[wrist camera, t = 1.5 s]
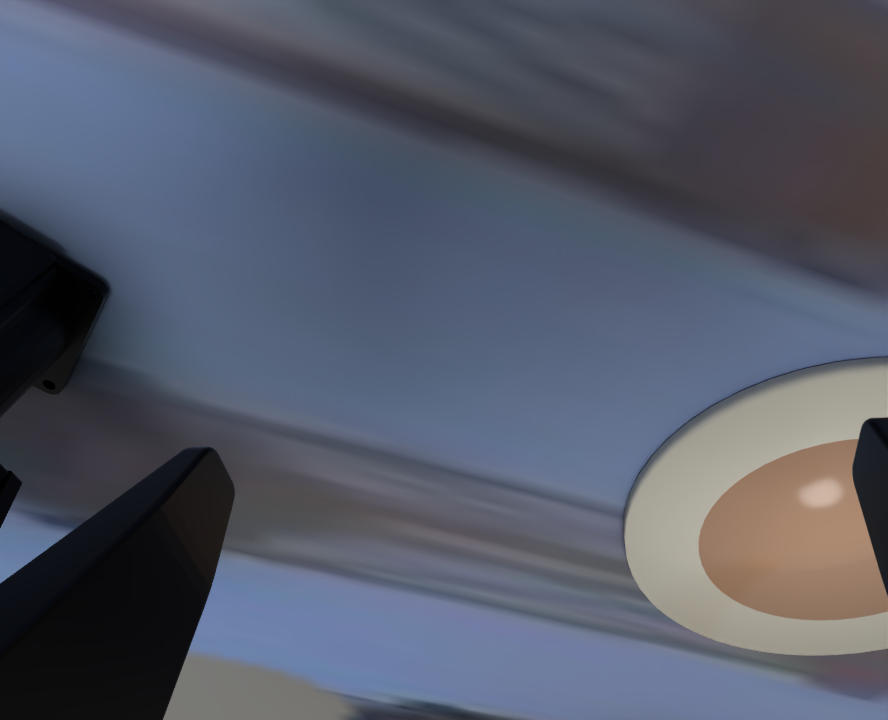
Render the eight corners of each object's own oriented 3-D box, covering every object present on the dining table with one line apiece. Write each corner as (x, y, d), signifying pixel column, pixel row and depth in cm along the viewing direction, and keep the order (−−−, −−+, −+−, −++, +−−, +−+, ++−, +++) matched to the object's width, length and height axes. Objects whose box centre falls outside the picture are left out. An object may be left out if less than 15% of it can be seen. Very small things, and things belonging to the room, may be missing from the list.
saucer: (794, 678, 35) (800, 696, 34) (542, 529, 30) (542, 546, 29) (1175, 515, 26) (1194, 534, 25) (897, 266, 21) (910, 280, 20)
